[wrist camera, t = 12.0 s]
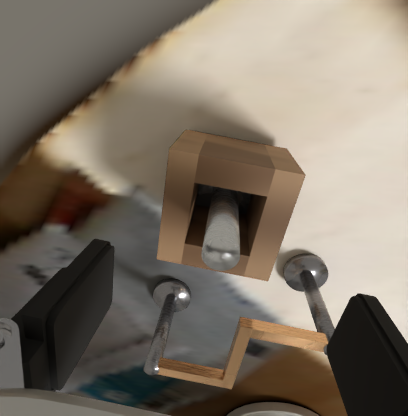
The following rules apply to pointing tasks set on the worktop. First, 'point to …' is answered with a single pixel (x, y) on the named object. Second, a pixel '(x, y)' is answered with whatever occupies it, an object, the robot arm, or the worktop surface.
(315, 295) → the buzz wire
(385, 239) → the worktop surface
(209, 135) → the open wooden box
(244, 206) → the peg stand
